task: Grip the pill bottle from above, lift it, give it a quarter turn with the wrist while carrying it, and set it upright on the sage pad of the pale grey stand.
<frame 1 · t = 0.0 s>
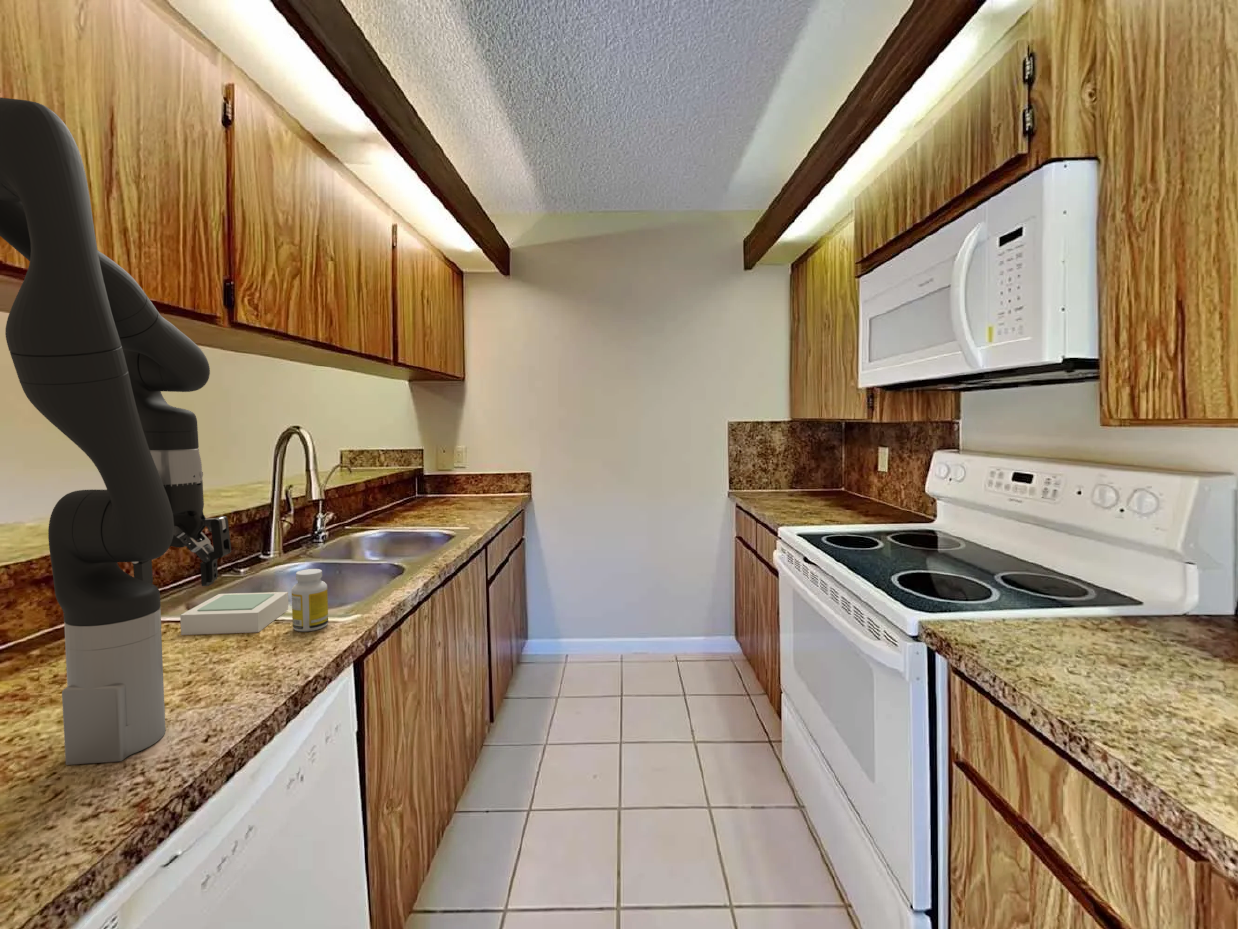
hand: (177, 585, 85), 17 cm above the worktop, tool pointing down, fingers open, 8 cm apart
pill bottle: (310, 628, 116), on the worktop
stand: (238, 621, 119), on the worktop
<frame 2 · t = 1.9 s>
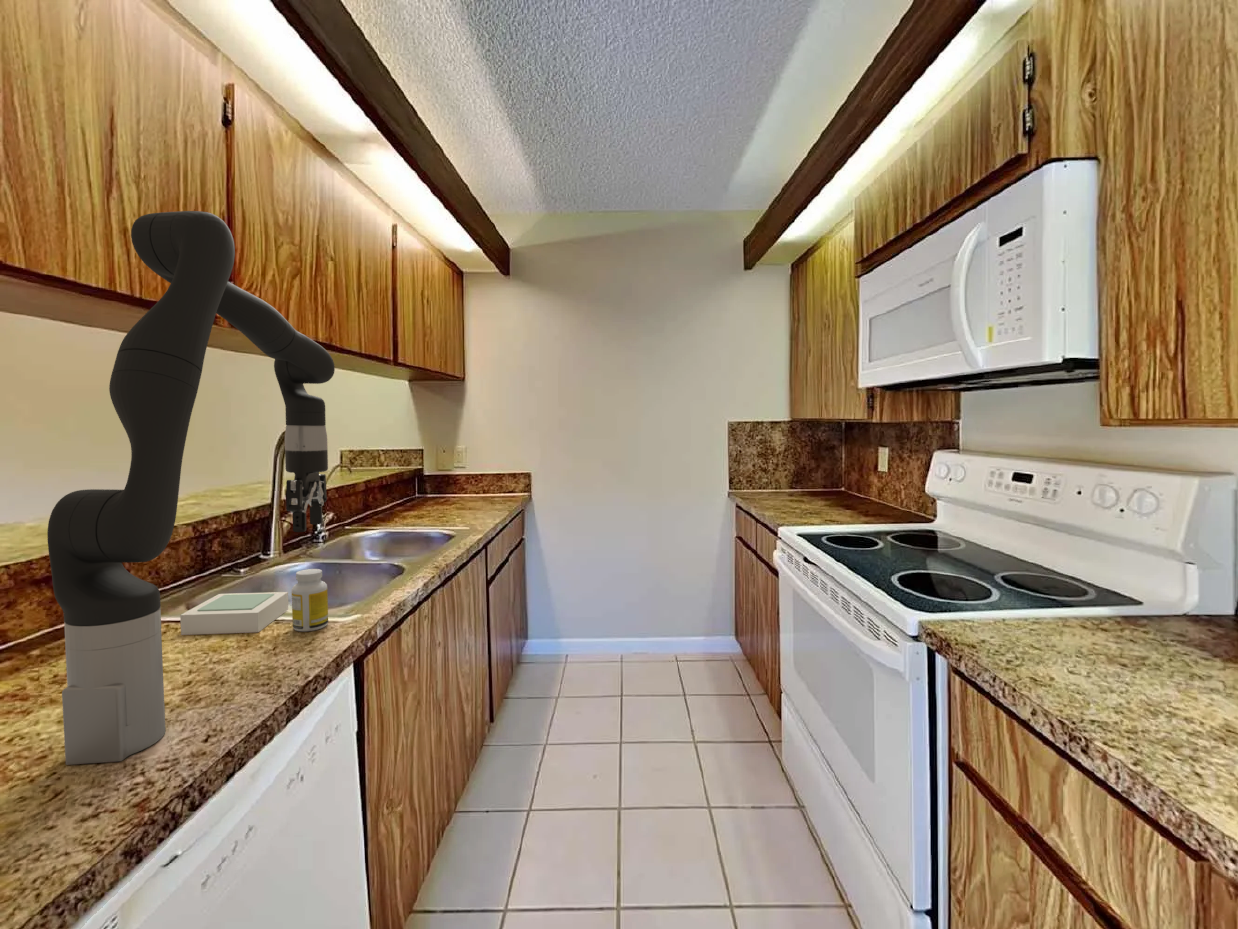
hand: (308, 527, 115), 21 cm above the worktop, tool pointing down, fingers open, 8 cm apart
nothing on the worktop moved.
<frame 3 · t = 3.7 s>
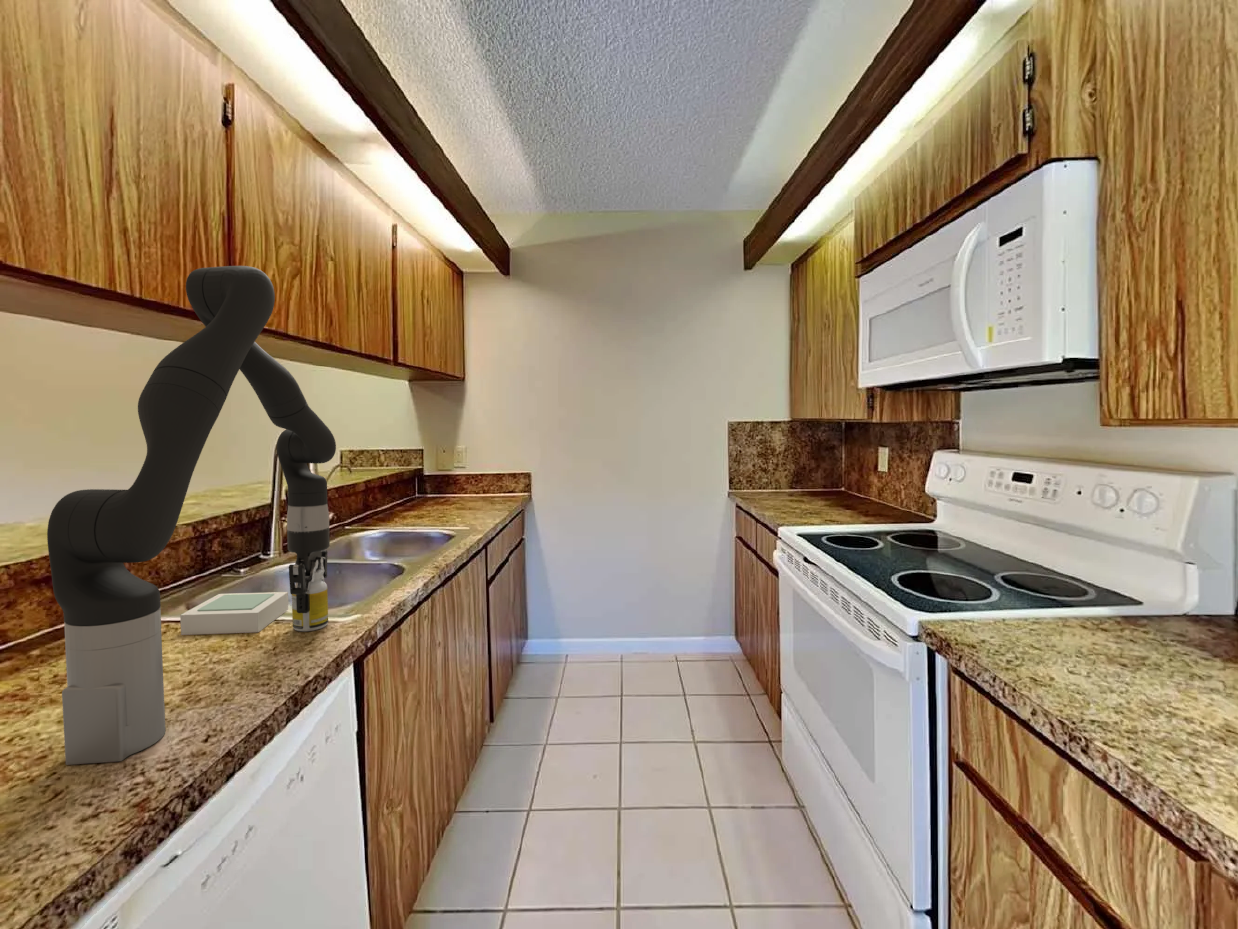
hand: (310, 606, 116), 4 cm above the worktop, tool pointing down, fingers closed on pill bottle, 6 cm apart
pill bottle: (310, 628, 116), on the worktop, touching gripper
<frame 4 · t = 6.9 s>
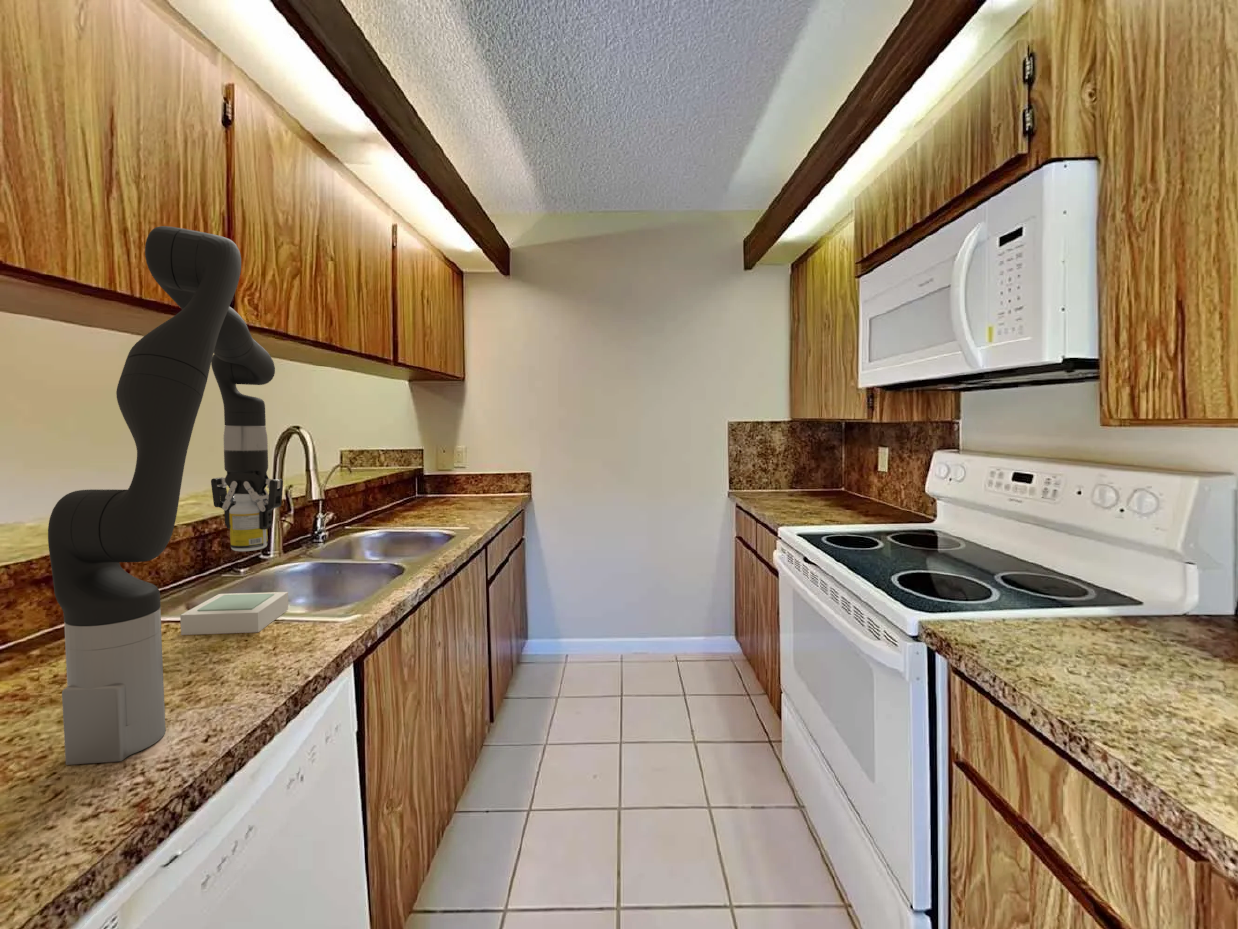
hand: (248, 528, 117), 20 cm above the worktop, tool pointing down, fingers closed on pill bottle, 6 cm apart
pill bottle: (249, 549, 117), point 15 cm above the worktop, touching gripper
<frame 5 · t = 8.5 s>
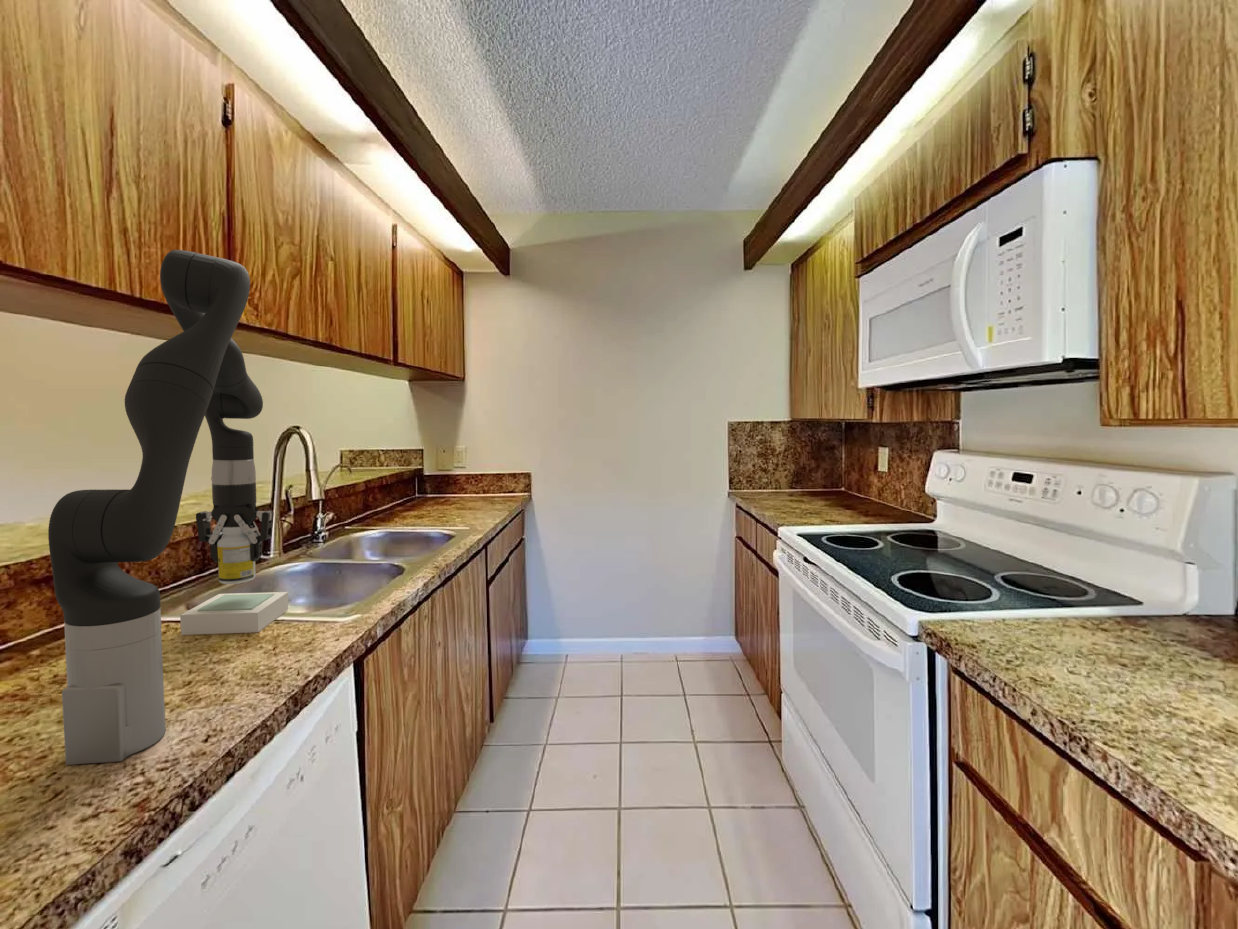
hand: (236, 560, 118), 13 cm above the worktop, tool pointing down, fingers closed on pill bottle, 6 cm apart
pill bottle: (237, 581, 118), point 9 cm above the worktop, touching gripper
when the fingers open (10 cm above the worktop, at t = 10.0 s): pill bottle drops 1 cm, resting on stand.
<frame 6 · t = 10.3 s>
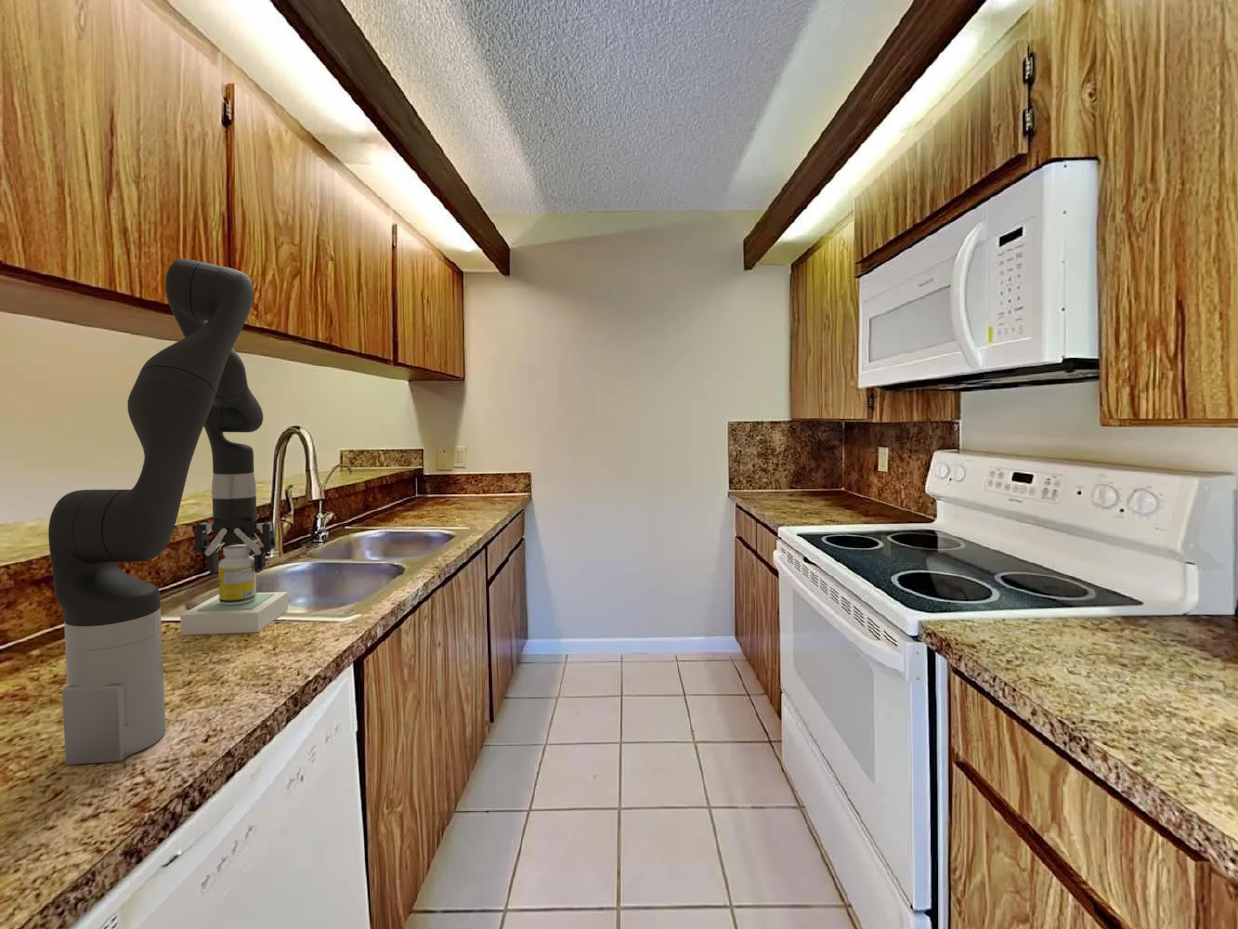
hand: (236, 571, 118), 11 cm above the worktop, tool pointing down, fingers open, 8 cm apart
pill bottle: (238, 602, 118), point 4 cm above the worktop, touching stand
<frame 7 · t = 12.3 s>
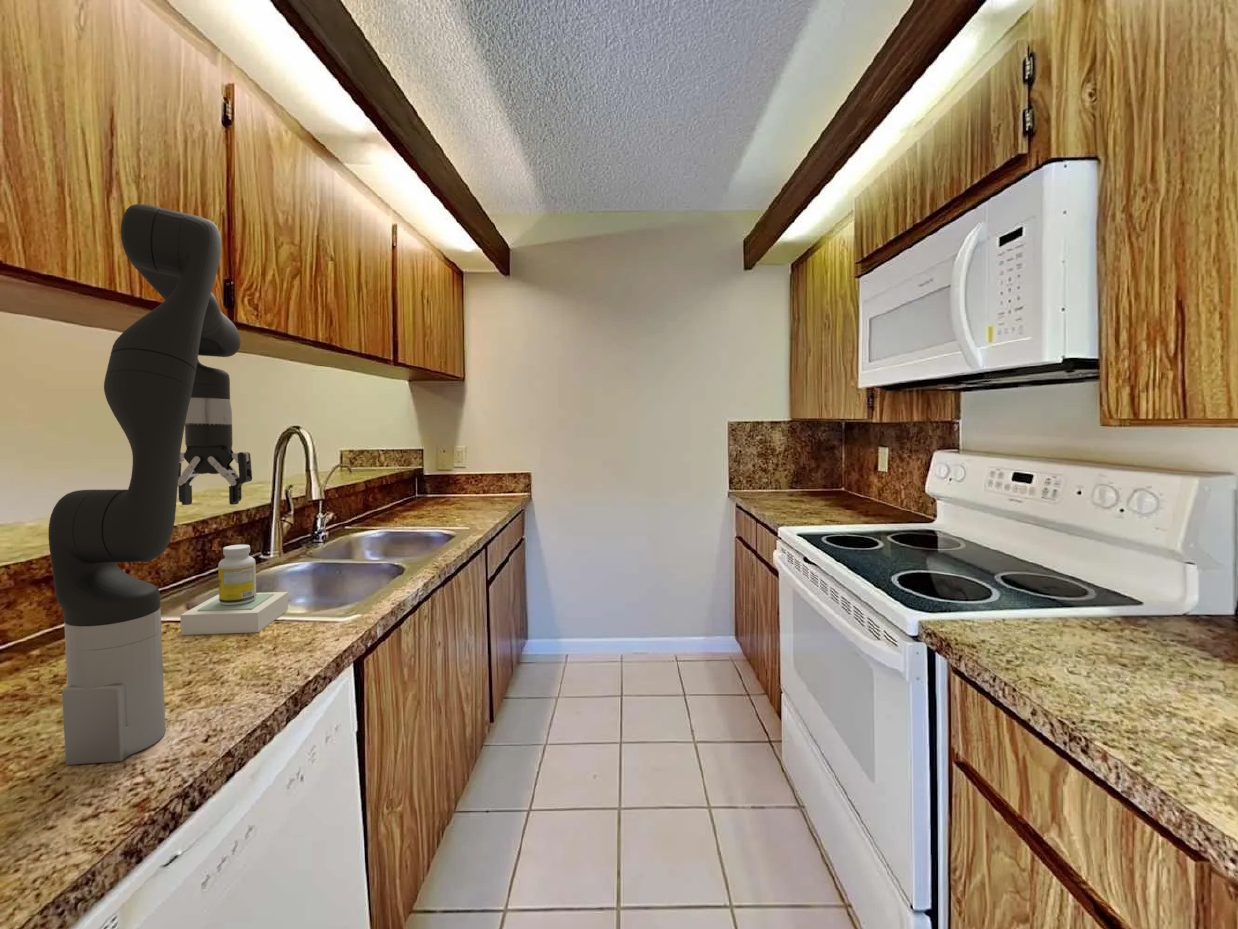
hand: (210, 504, 111), 26 cm above the worktop, tool pointing down, fingers open, 8 cm apart
nothing on the worktop moved.
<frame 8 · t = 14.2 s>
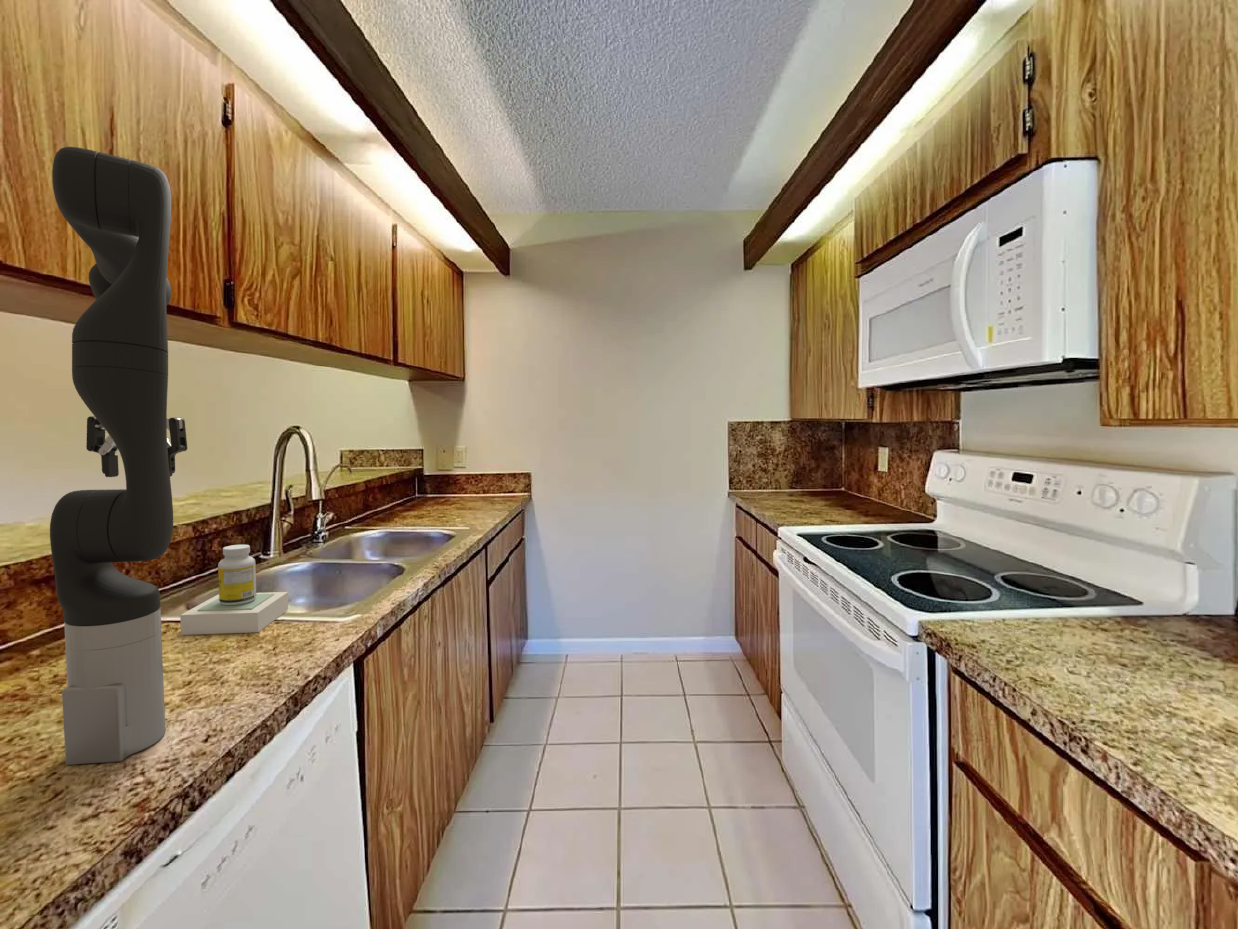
hand: (139, 476, 99), 32 cm above the worktop, tool pointing down, fingers open, 8 cm apart
nothing on the worktop moved.
at the end: pill bottle inside the target area on the stand (0.2 cm from its centre), point 4.1 cm above the stand's base; pill bottle tilted 0°; the gripper is holding nothing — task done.
